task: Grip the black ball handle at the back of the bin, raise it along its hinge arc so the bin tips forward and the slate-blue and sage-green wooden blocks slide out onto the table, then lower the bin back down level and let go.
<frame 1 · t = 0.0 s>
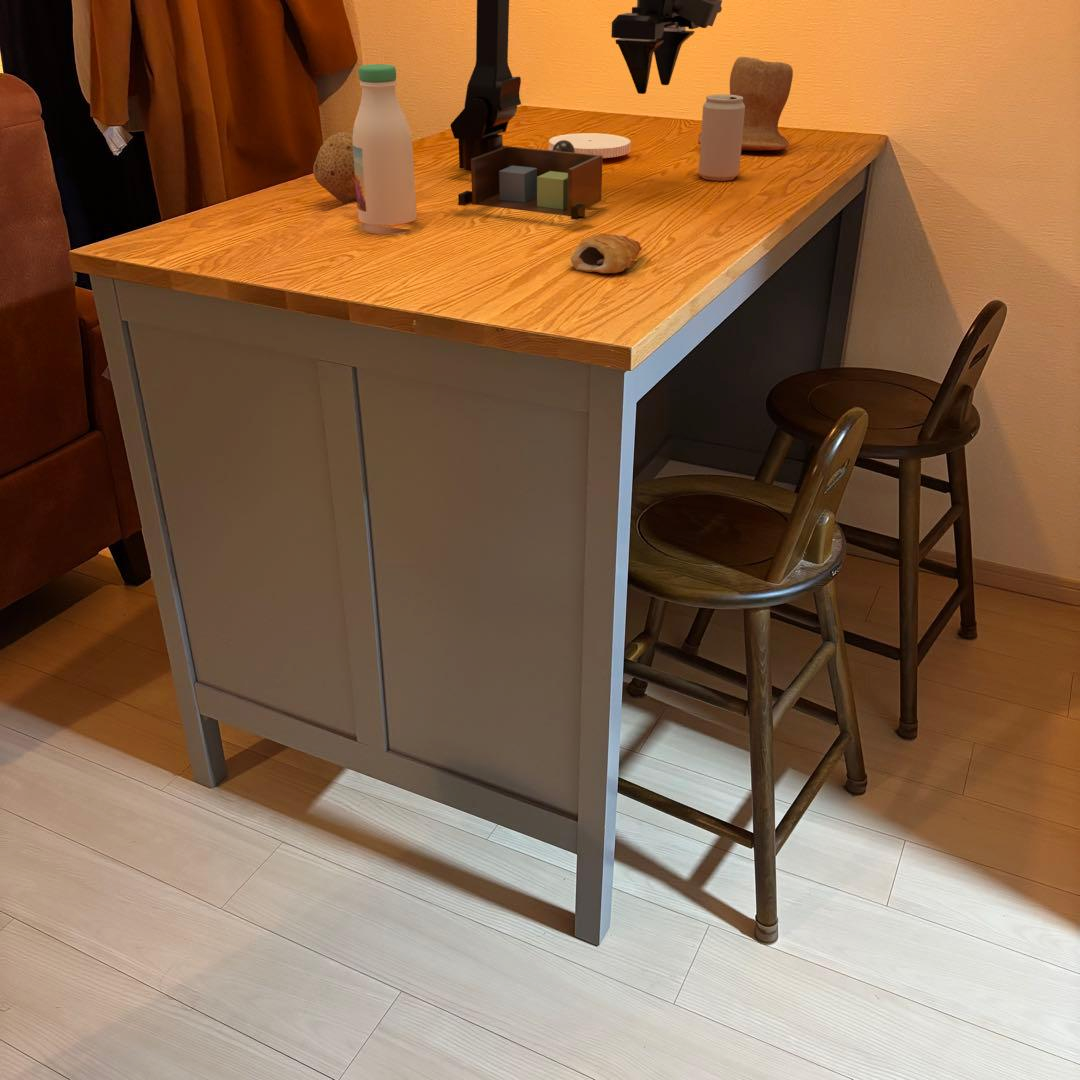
hand: (653, 89, 152), 15 cm above the table, tool pointing down, fingers open, 9 cm apart
milk bottle: (388, 229, 143), on the table
pastry: (606, 267, 129), on the table
bin: (545, 177, 151), point 4 cm above the table, hinge at 0.0°, touching sage block, slate block
sage block: (556, 204, 148), point 1 cm above the table, touching bin
beverage can: (718, 178, 170), on the table
slate block: (518, 198, 152), point 1 cm above the table, touching bin
natural sponge: (348, 206, 154), on the table
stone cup: (744, 150, 189), on the table
plastic lid: (589, 157, 184), on the table
pivot brackets: (537, 211, 151), on the table
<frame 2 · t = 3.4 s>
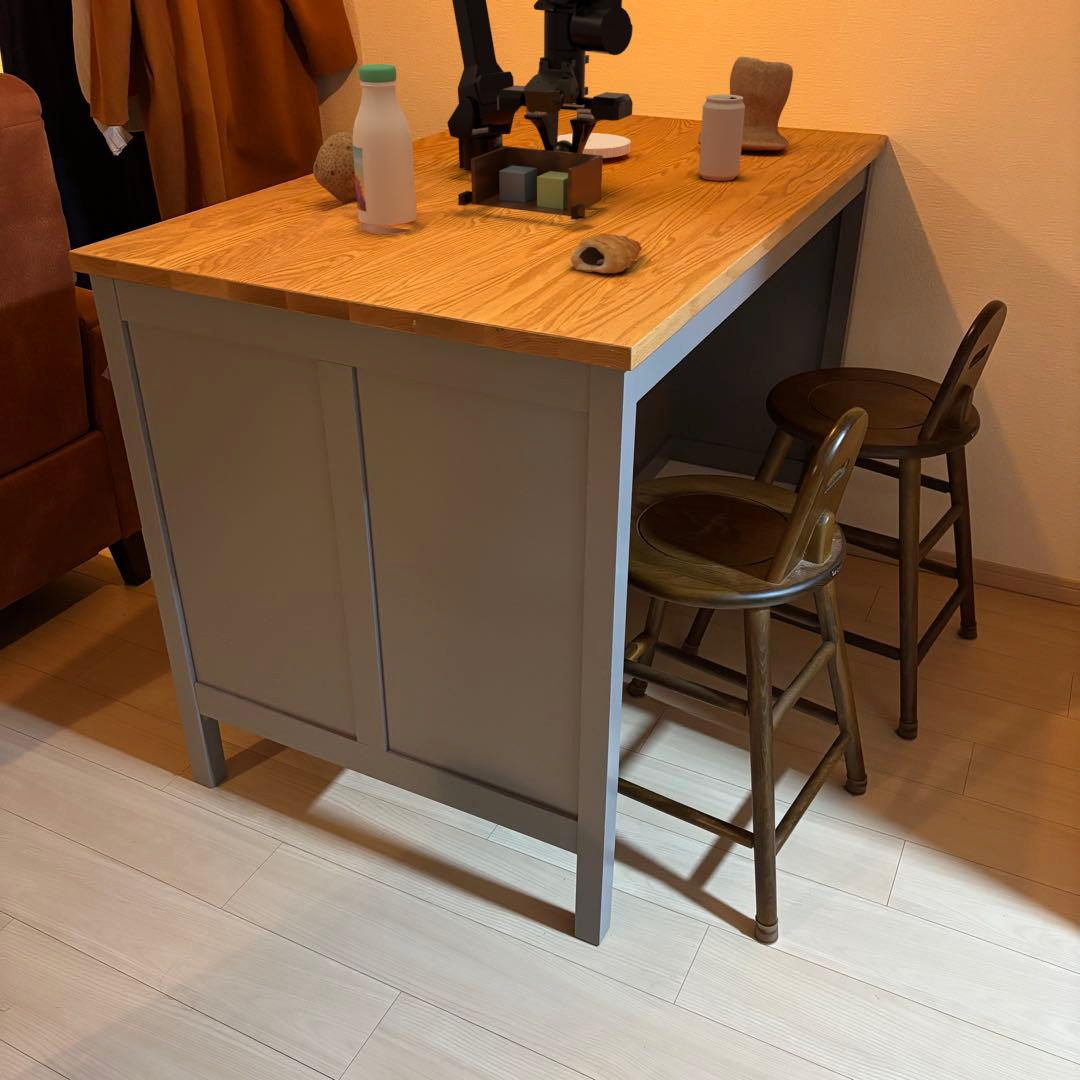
hand: (563, 166, 155), 5 cm above the table, tool pointing down, fingers closed on bin, 3 cm apart
bin: (545, 177, 151), point 4 cm above the table, hinge at 0.0°, touching gripper, sage block, slate block
everything else where it was.
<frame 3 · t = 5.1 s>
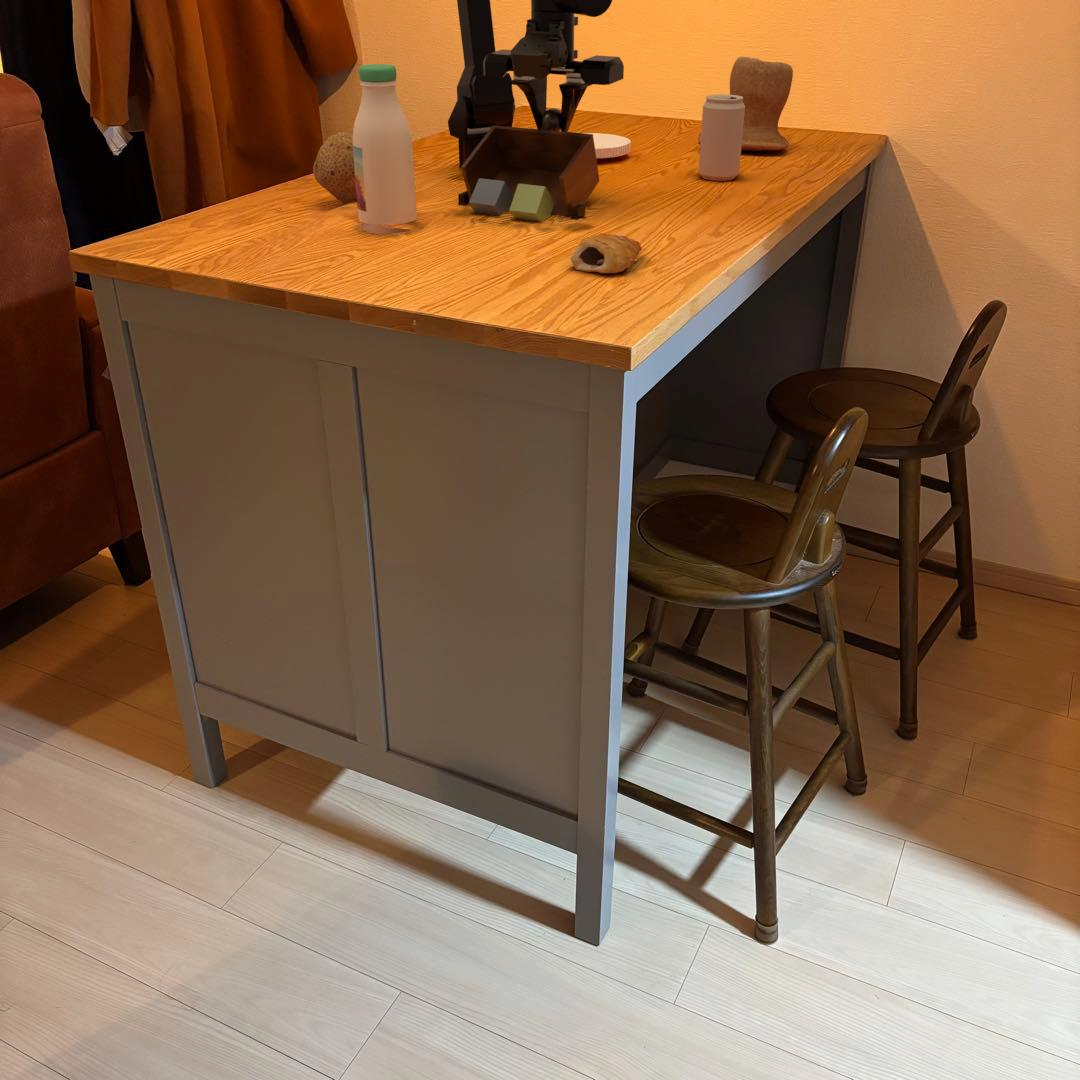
hand: (552, 133, 150), 10 cm above the table, tool pointing down, fingers closed on bin, 3 cm apart
bin: (538, 160, 148), point 7 cm above the table, hinge at 22.6°, touching gripper
sage block: (537, 214, 144), point 1 cm above the table, tilted 47°
slate block: (496, 210, 147), point 1 cm above the table, tilted 41°
everything else where it was.
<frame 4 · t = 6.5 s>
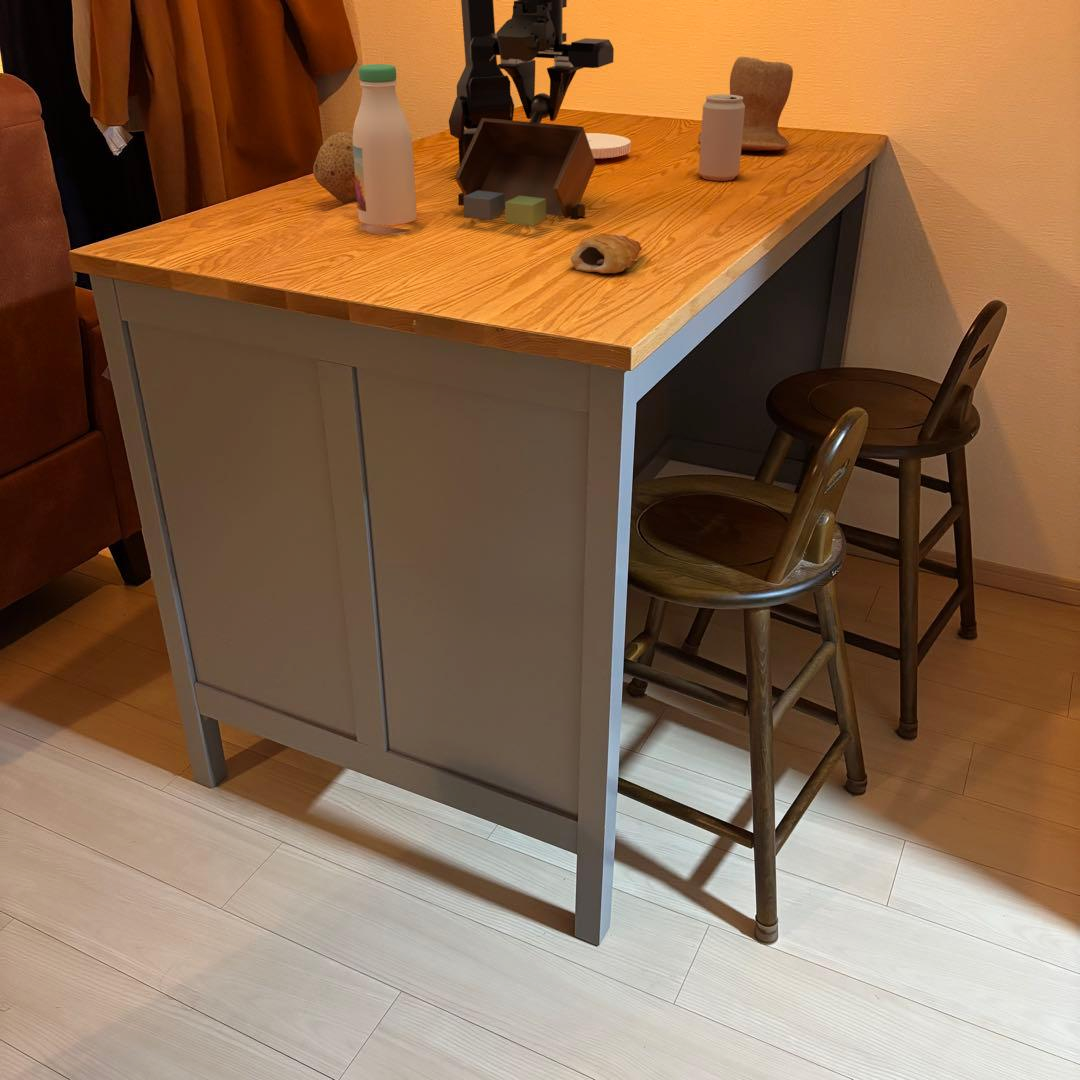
hand: (541, 119, 146), 12 cm above the table, tool pointing down, fingers closed on bin, 3 cm apart
bin: (531, 153, 145), point 8 cm above the table, hinge at 38.8°, touching gripper
sage block: (532, 212, 143), point 2 cm above the table, tilted 90°
slate block: (491, 206, 145), point 2 cm above the table, tilted 90°
everything else where it was.
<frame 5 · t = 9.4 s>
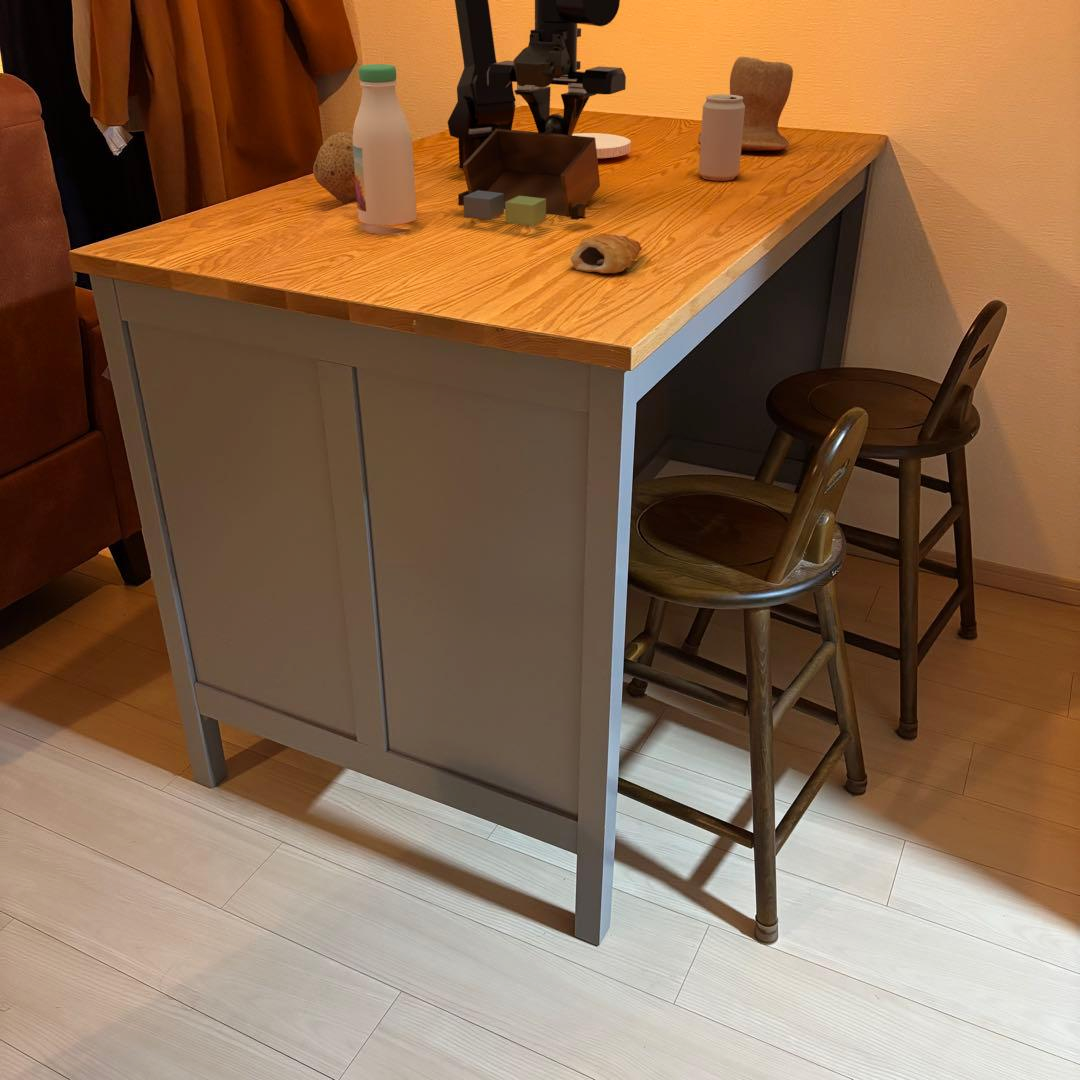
hand: (554, 143, 151), 8 cm above the table, tool pointing down, fingers closed on bin, 3 cm apart
bin: (540, 163, 148), point 6 cm above the table, hinge at 18.0°, touching gripper
everything else where it was.
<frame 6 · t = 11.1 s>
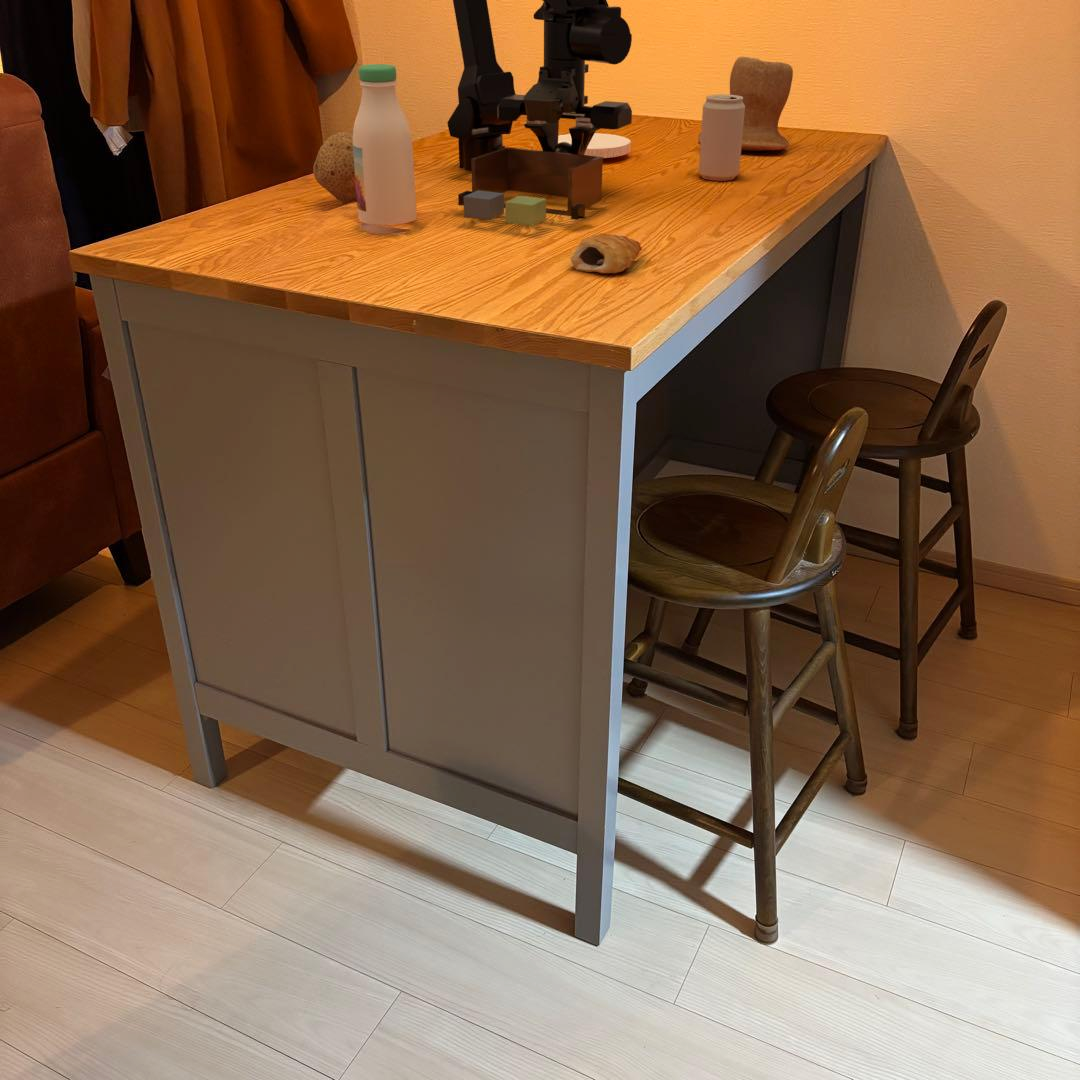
hand: (563, 174, 156), 3 cm above the table, tool pointing down, fingers closed on bin, 3 cm apart
bin: (545, 178, 151), point 4 cm above the table, hinge at -1.2°, touching gripper
everything else where it was.
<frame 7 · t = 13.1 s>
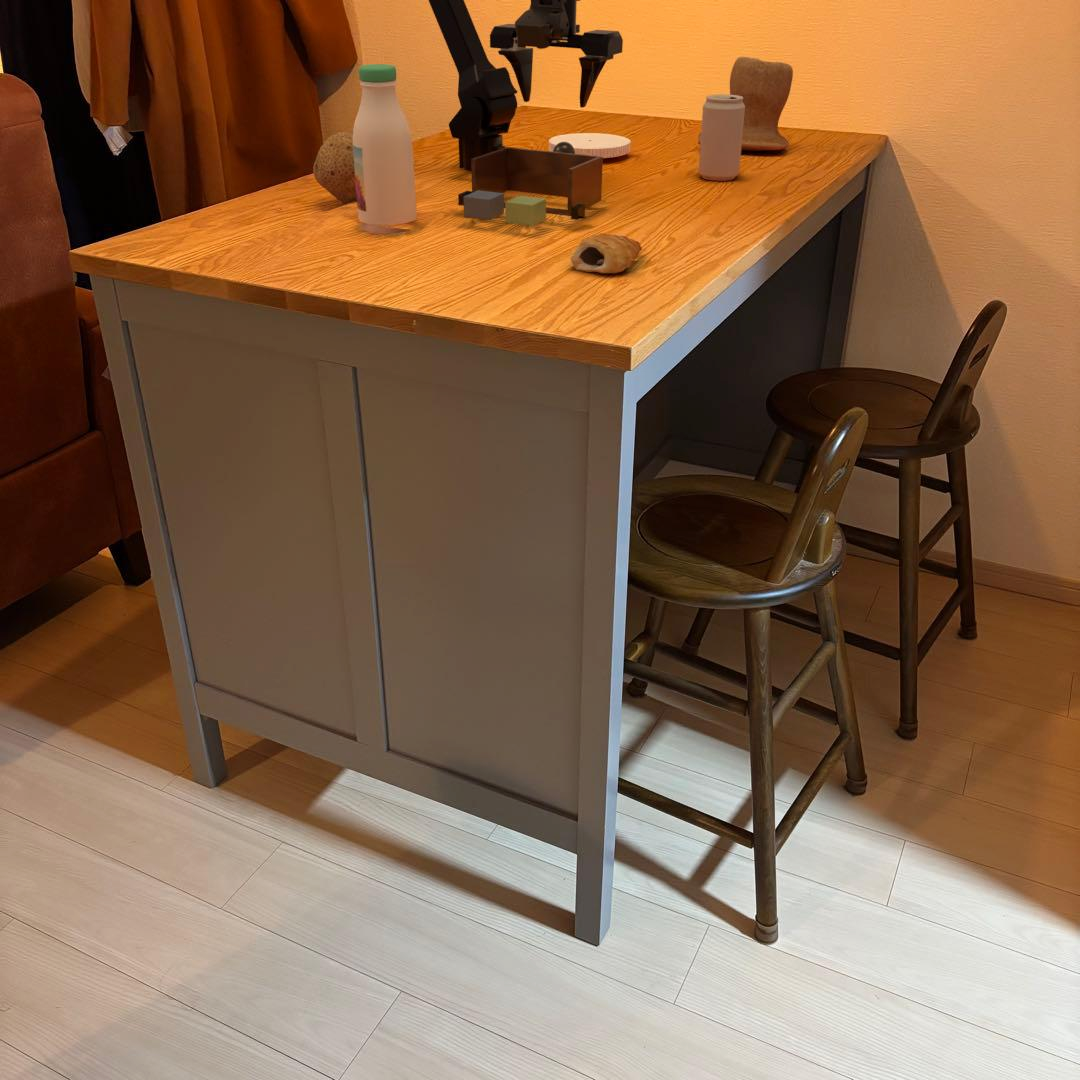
hand: (554, 104, 157), 12 cm above the table, tool pointing down, fingers open, 9 cm apart
bin: (545, 178, 151), point 4 cm above the table, hinge at -1.0°
everything else where it was.
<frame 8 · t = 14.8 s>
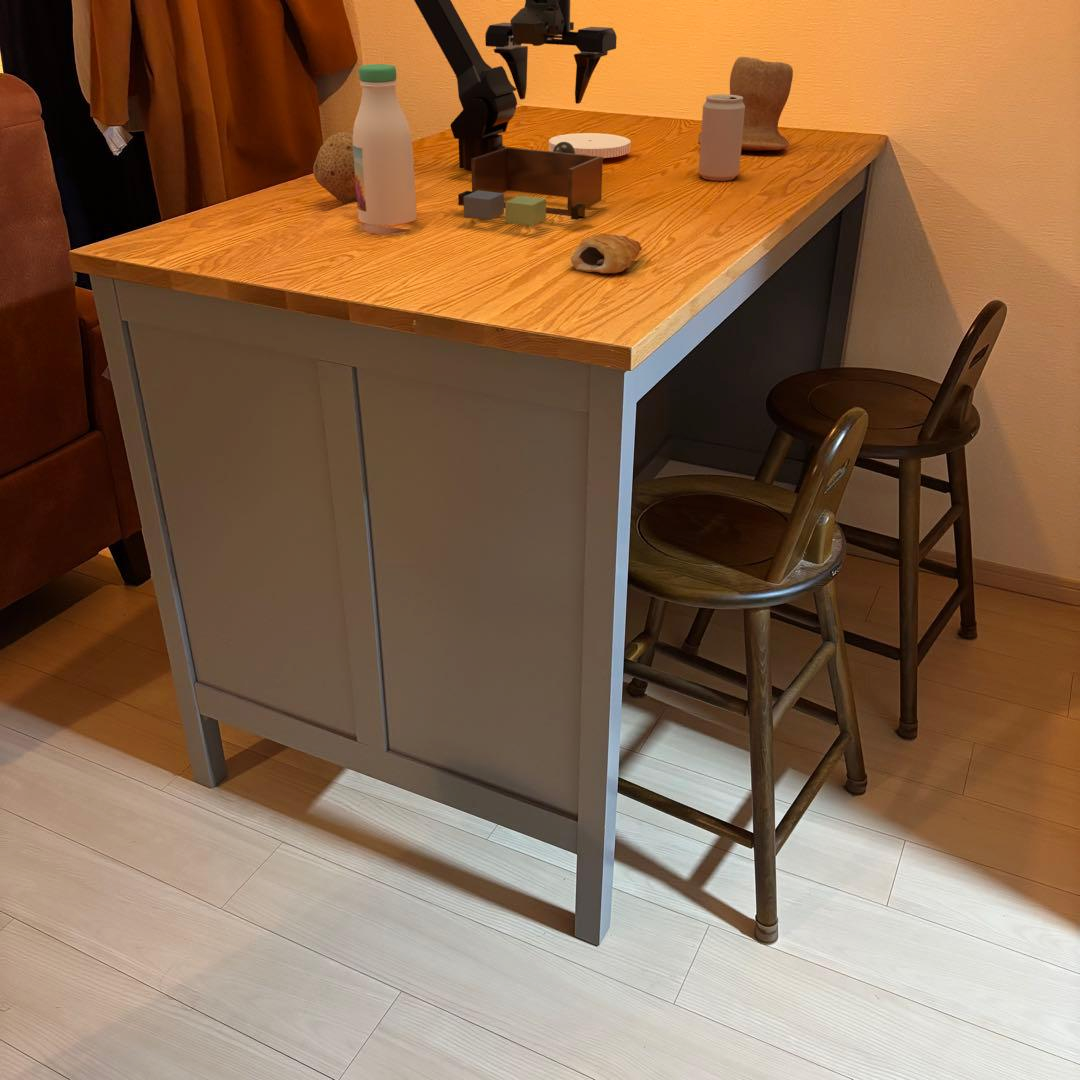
hand: (549, 101, 160), 12 cm above the table, tool pointing down, fingers open, 9 cm apart
nothing on the table moved.
at the end: slate block inside the target area on the table beside the bin (8.0 cm from its centre), point 2.1 cm above the table; sage block inside the target area on the table beside the bin (7.8 cm from its centre), point 2.1 cm above the table; bin at -1° (first picture: +0°) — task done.
